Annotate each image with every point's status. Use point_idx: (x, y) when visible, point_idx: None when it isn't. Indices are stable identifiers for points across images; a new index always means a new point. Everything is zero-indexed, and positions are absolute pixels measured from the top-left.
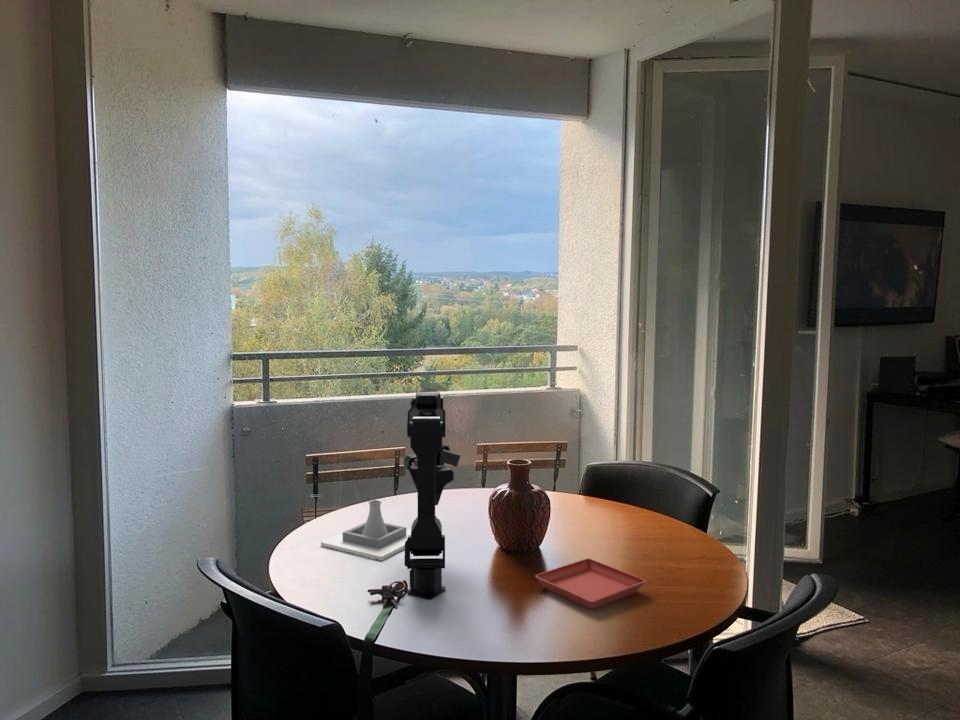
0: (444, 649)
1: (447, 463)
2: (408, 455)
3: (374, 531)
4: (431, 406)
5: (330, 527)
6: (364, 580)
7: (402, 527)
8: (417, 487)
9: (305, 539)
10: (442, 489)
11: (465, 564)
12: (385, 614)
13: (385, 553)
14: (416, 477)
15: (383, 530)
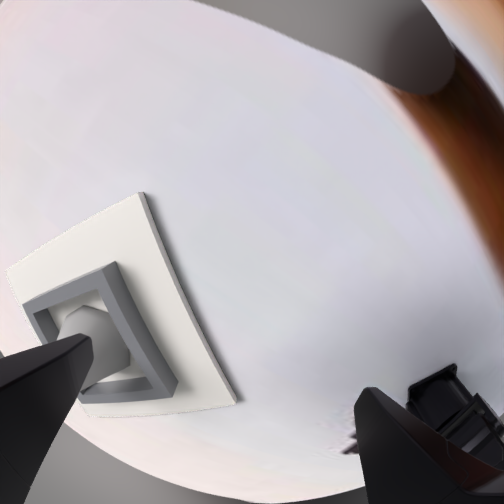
0: (498, 412)
1: None
2: None
3: (110, 374)
4: None
5: (10, 336)
6: (305, 449)
7: (97, 280)
8: (65, 410)
9: None
10: (471, 462)
11: (417, 246)
12: None
13: (220, 388)
14: (19, 466)
15: (105, 348)
